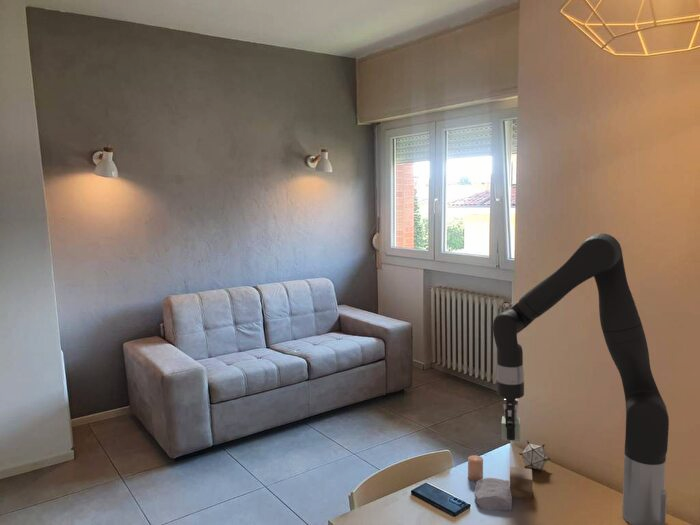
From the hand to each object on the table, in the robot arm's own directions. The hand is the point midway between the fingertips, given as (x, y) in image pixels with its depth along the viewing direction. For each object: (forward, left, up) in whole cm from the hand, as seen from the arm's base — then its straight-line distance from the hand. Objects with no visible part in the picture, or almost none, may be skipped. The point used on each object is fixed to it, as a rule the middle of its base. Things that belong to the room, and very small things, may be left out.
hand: (511, 435), depth 156 cm
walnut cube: (-3, +5, -15) cm, 16 cm away
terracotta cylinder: (+10, 0, -15) cm, 18 cm away
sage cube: (0, 0, 0) cm, 0 cm away
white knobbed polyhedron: (-7, -10, -15) cm, 19 cm away
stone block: (+5, +10, -15) cm, 19 cm away
